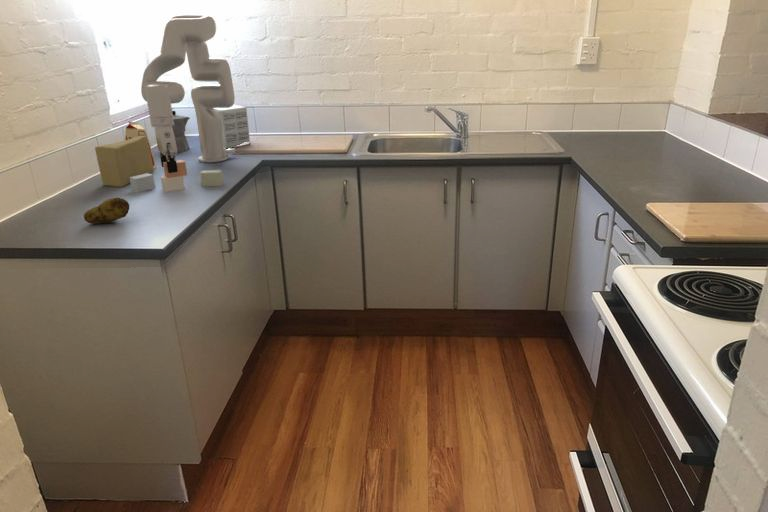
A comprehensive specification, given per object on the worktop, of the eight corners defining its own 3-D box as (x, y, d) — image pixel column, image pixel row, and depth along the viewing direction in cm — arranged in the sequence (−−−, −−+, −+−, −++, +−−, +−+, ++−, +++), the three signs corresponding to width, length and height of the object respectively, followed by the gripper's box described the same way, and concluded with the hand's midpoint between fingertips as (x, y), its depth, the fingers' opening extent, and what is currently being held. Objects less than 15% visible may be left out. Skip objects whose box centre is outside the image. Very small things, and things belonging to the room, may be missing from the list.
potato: (100, 217, 180) (95, 193, 176) (136, 220, 177) (132, 195, 174) (82, 226, 172) (76, 201, 169) (120, 229, 170) (114, 203, 167)
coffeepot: (194, 147, 273) (189, 108, 266) (193, 151, 264) (187, 111, 257) (161, 148, 270) (154, 110, 263) (158, 153, 261) (151, 113, 254)
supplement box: (209, 143, 280) (204, 106, 273) (233, 139, 288) (229, 103, 281) (226, 149, 268) (221, 109, 261) (251, 144, 277) (247, 106, 269)
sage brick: (223, 183, 215) (221, 170, 213) (220, 185, 212) (219, 172, 210) (204, 183, 215) (202, 170, 213) (201, 186, 211) (200, 173, 209)
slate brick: (149, 186, 212) (147, 173, 210) (155, 188, 210) (153, 174, 208) (132, 190, 207) (129, 177, 205) (137, 192, 205) (135, 179, 203)
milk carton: (145, 172, 230) (136, 122, 222) (124, 171, 232) (115, 121, 224) (157, 166, 238) (149, 118, 230) (138, 166, 240) (129, 117, 232)
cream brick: (182, 186, 211) (180, 173, 209) (184, 189, 208) (182, 175, 206) (162, 189, 208) (160, 176, 206) (165, 192, 205) (162, 178, 203)
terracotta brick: (184, 172, 210) (182, 159, 208) (187, 175, 207) (185, 161, 205) (164, 175, 206) (162, 162, 204) (167, 178, 203) (165, 164, 201)
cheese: (142, 171, 233) (136, 134, 227) (162, 172, 229) (156, 135, 224) (101, 185, 213) (92, 145, 207) (122, 187, 210) (114, 147, 204)
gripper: (179, 124, 193) (186, 173, 200) (167, 116, 207) (174, 163, 214) (156, 126, 190) (164, 176, 196) (145, 118, 203) (153, 165, 210)
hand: (169, 169), depth 205 cm, fingers open, 9 cm apart
